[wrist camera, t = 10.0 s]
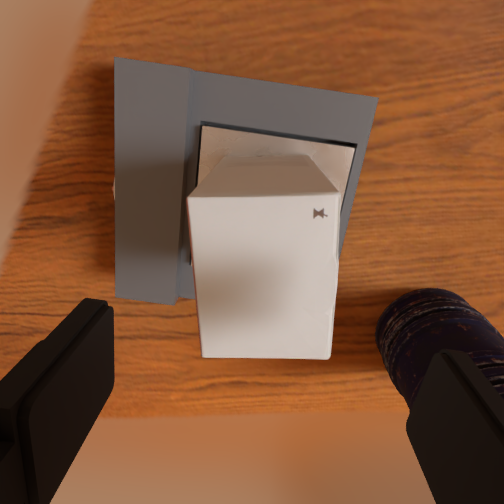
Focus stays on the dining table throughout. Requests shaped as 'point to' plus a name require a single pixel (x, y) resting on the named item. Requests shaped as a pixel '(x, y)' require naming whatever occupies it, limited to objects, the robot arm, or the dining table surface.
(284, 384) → the dining table surface
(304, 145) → the pan
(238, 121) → the scale
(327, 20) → the dining table surface
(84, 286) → the dining table surface
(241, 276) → the small box
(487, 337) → the navy cylindrical canister
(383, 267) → the dining table surface
